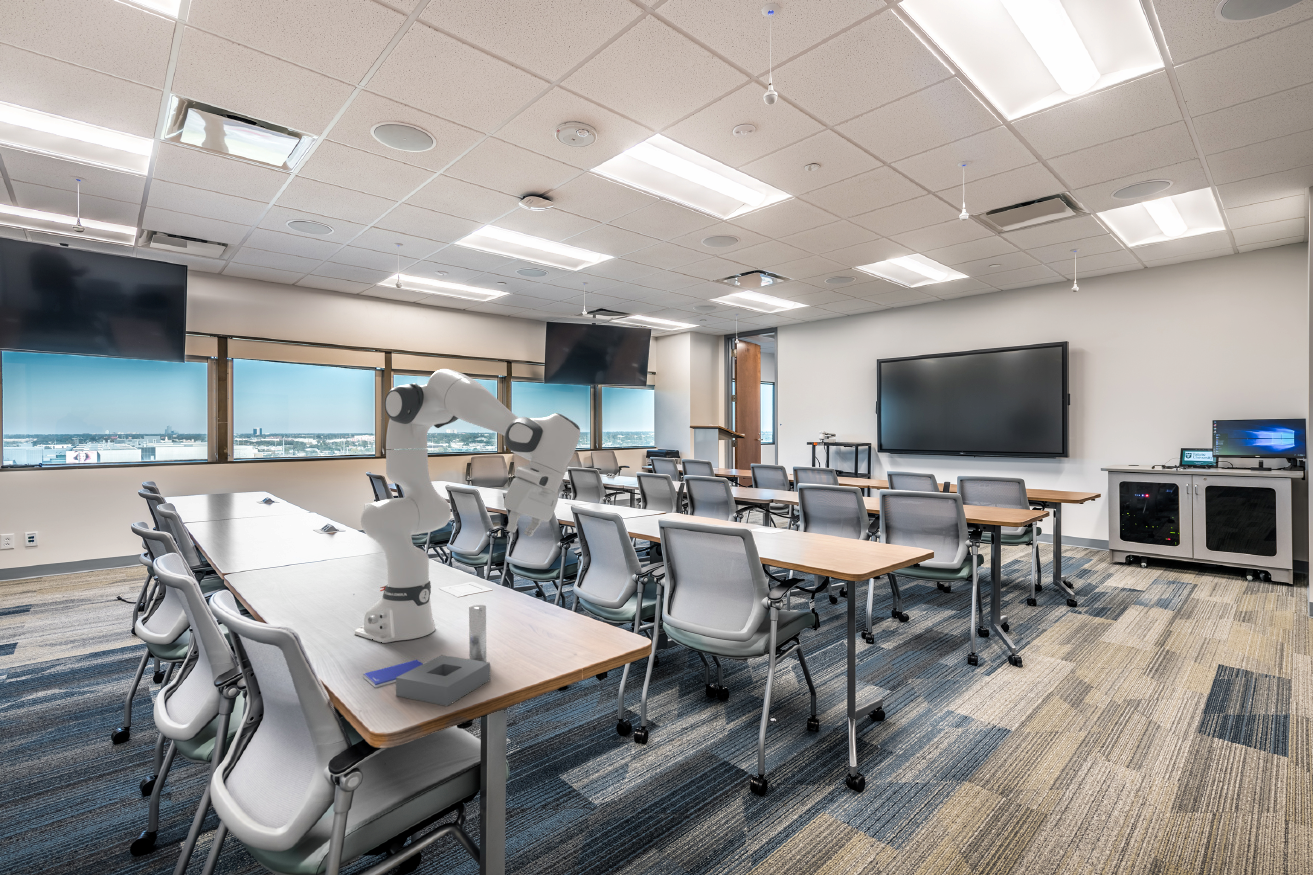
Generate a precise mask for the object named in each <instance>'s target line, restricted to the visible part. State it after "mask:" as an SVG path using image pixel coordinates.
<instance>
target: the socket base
mask: <svg viewBox="0 0 1313 875" xmlns="http://www.w3.org/2000/svg"><path fill="white" fill-rule="evenodd" d="M489 681H491V663H490V662H488V661H487V662H483V661H477V660H470V658H463V657H457V656H451V655H444V654H441V655H439V656H437V657H434V658H432V659H431V660H429V661H426V662H424V663H423V664H422V665H420V666H418V667H416V668H414V669H412V670H410V671H408V672H406V673H404V674H402V675H400V676H398V677H396V682H395V686H396V687H395V691H396V694H395V696H396V697H399V698H406V699H410V700H415V701H420V702H424V703H430V704H435V705H439V706H440V705H441V706H444V705H447V706H446V707H448V705H449V706H451V705H452V704H453V703H452V702H454V701H455V702H457V701H459V700H460V699H461V698H460V697H462V696H464V695H465V696H466V694H467V695H468V694H470V693H471V692H470V691H472V692H473V691H474V689H475V690H477V689H478V688H480V687H481V686H483V685H485V684H486V683H488V682H489ZM484 683H485V684H484ZM482 684H483V685H482ZM479 686H480V687H479ZM469 692H470V693H469ZM465 696H464V697H465ZM462 698H463V697H462ZM458 699H459V700H458ZM456 700H457V701H456ZM455 702H454V703H455ZM451 703H452V704H451ZM450 704H451V705H450Z"/></svg>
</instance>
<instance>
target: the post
mask: <svg viewBox="0 0 1313 875" xmlns="http://www.w3.org/2000/svg"><path fill="white" fill-rule="evenodd" d="M468 610H469V611H468V614H469V616H468V618H469V620H468V621H469V622H468V626H469V633H468V634H469V638H468V639H469V642H468V643H469V659H470V660H477V661H483V662H488V661H487V606H486V605H484V604H475V605H472V606H470V607H469V608H468Z"/></svg>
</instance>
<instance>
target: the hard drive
mask: <svg viewBox="0 0 1313 875" xmlns="http://www.w3.org/2000/svg"><path fill="white" fill-rule="evenodd" d="M422 664H424V663H423V662H421V661H420V660H418V659H413V660H410V661H406V662H403V663H399V664H394V665H391V666H387V667H384V668H380V669H376V670H373V671H368V672H365V673H363V674H362V678H364V680H366V681H367V682H368V683H369V684H371V686H373V688H379V687H383V686H387V685H389V684H392V683H396V677H398V676H400V675H402V674H404V673H406V672H408V671H410V670H412V669H414V668H416V667H418V666H420V665H422Z"/></svg>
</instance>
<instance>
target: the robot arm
mask: <svg viewBox="0 0 1313 875" xmlns="http://www.w3.org/2000/svg"><path fill="white" fill-rule="evenodd" d="M384 410H385V413H386V416H387V417H388V418H389V420H388V422H387V431H386V437H385V456H386V457H385V460H386V461H385V467H386V468H385V469H386V470H385V471H386V476H387V478H388V479H389V480H390V481H391V482H392V483H394V484H396V485H399V486H400V487H401V489H402V492H403V495H404V497H397V498H395V497H394V498H385V499H382V500H378V501H375V502H371V503H369V504H366V506H365V508H364V509H363V511H362V513H361V516H360V523H361V524H360V525H361V528H362V531H363V532H364V534H366V536H368V538H371V539H372V540H374V541H375V542H376V543H377V544H378V545H379V546H380V548H381V550H382V552H383V554H384V556H385V562H386V577H387V580H386V581H387V583H386V585H384V586H381V587H380V590H379V591H380V592H382V593H383V594H382V597H381V598H380V599H379V600H378V601H377V602H376V603H374V604H373V605H372V606H370V607H369V608H368V609H367V610H366V611H365V614H364V619H363V625H361V626H359V627H357V628H356V629H355V630H354V635H356V636H360V637H362V638H366V639H369V640H372V639H373V640H372V641H375V642H378V643H381V642H382V644H387V643H391V642H398V641H406V640H407V641H408V640H413V639H414V640H415V639H418V638H422V637H426V636H427V635H430V634H432V633H434V632H435V630H436V626H435V619H434V617H433V611H432V610H433V609H432V603H431V598H430V597H431V594H432V593H431V592H432V590H431V589H432V584H431V580H430V568H429V567H430V559H429V555H428V554H427V552H426V551H425V550H423V549H421V548H419V547H417V546H415V544H414V543H413V539H412V538H413V535H420V534H427V533H431V532H434V531H437V530H441V529H442V528H445V527H446V526H447V525H448V523H449V521H450V519H451V515H452V514H451V512H452V511H451V506H450V504H449V502H448V501H447V500H446V499H445V497H443V496H442V495H440V494H439V493H438V491H437V489H436V488H435V487H434V485H433V483H432V480H431V478H430V473H429V472H430V471H429V460H428V459H429V457H428V456H429V455H428V454H429V453H428V432H429V430H430V429H431V427H435V428H437V429H440V428H442V427H444V426H446V425H449V424H452V423H455V422H457V421H458V420H462V421H464V422H466V423H468V424H472V425H474V426H475V425H476V426H477V427H480V428H483V429H486V430H490V431H492V432H495V433H497V434H500V435H502V436H503V437H504V442H505V446H506V447H507V448H508V450H510V451H511V453H514V454H515V455H517V456H519V457H522V458H523V459H525V460H527V461H529V463H528V464H527V465H522V466H517V467H516V468H515V471H514V475H513V476H515V478H513V479H512V481H511V483H510V485H509V487H508V490H507V491H506V493H505V494H506V495H505V496H504V500H503V507H504V508H505V509H507V510H509V511H510V512H509V514H508V523H507V526H506V529H505V530H506V531H508V532H510V533H516V532H517V529H518V527H519V526H518V521H519V519H520V518H521V516H522V515H524V516H526V517H530V518H531V520H530V524H529V525H528V526H526V528H525V529H524V532H523V534H524V535H526V536H528V537H533V536H534V533H535V531H536V530H537V529H538V527H540V526H541V524H542V521H544V522H550V520H552V518H553V516H554V514H555V510H556V507H557V504H558V501H559V495H558V492H559V488H560V486H561V484H562V482H563V480H564V477H565V475H566V471H567V466H568V464H569V462H570V461H571V460H572V458H573V456H574V454H575V452H576V449H577V447H578V443H579V439H580V435H581V428H580V426H579V425H578V424H577V423H576V422H574V421H573V420H571V419H570V418H568V417H566V416H565V415H563V414H560V413H553V414H551V415H549V416H544V417H526V416H521V417H518V416H517V415H516V414H515V413H513V411H511V410H510V409H508V408H507V407H506V406H505V405H504V404H503V403H502V402H501V401H500V400H499V399H498V398H497V397H495V395H494V394H493V393H491V392H490V390H488V389H487V388H486V387H485V386H483V385H482V384H481V383H479V381H477V380H476V379H473V377H470V376H468V375H466V374H464V373H461V372H460V371H456V370H453V369H451V368H441V369H438V370H436V371H434V373H432V374H431V376H430V377H429V379H428V381H427V383H426V384H424V385H419V384H417V383H416V382H415V383H410V384H409V383H408V384H402V385H396V386H394V387H392V388H390V389H389V391H388V392H387V393H386V397H385V399H384Z"/></svg>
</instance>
